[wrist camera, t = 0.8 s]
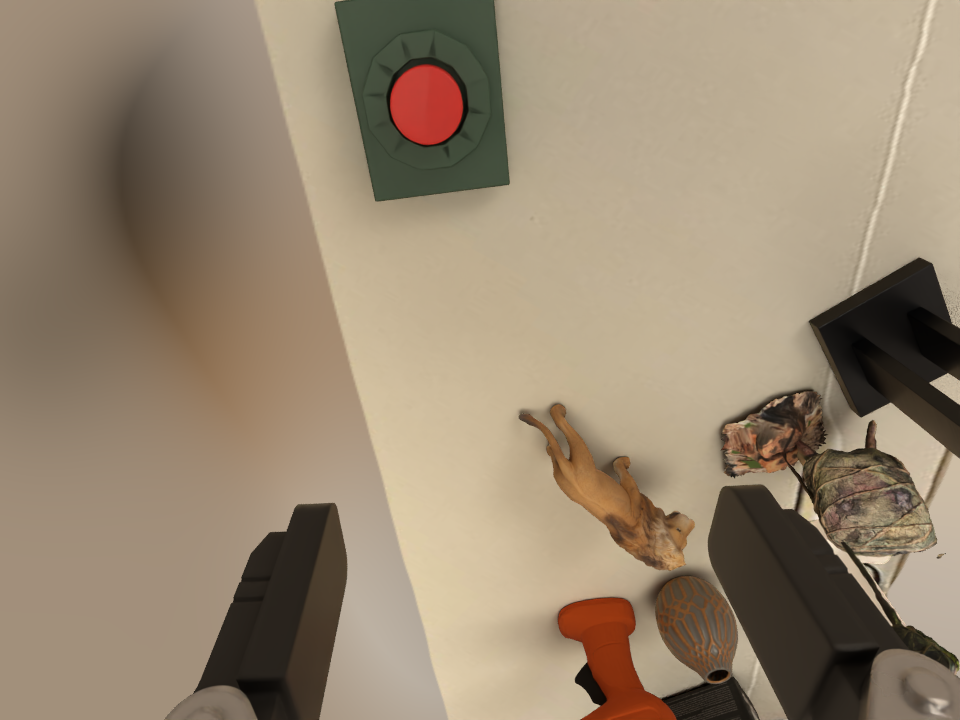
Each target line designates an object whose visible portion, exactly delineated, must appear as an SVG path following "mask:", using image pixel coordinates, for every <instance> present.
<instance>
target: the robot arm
mask: <svg viewBox="0 0 960 720" xmlns="http://www.w3.org/2000/svg"><path fill="white" fill-rule="evenodd" d="M708 552H709V557H710V561H711V564H712V567H713V569H714V571H715V573H716V575H717V577H718V579H719V581H720V583H721V585H722V587H723V589H724V591H725V593H726V595H727V597H728V599H729V601H730V603H731V605H732V607H733V609H734V611H735V613H736V615H737V617H738V619H739V622H740V624H741V626H742V628H743V630H744V632H745V634H746V636H747V638H748V640H749V642H750V644H751V646H752V648H753V650H754V652H755V654H756V656H757V658H758V660H759V662H760V664H761V666H762V668H763V670H764V672H765V674H766V676H767V678H768V680H769V682H770V684H771V686H772V688H773V690H774V692H775V694H776V696H777V698H778V700H779V702H780V704H781V706H782V708H783V710H784V712H785V714H786V716H787V718H788V720H960V678H958V676H956V675H955V674H954V673H953V672H952V671H950V670H949V669H948V668H946V667H945V666H943V665H942V664H940V663H939V662H937V661H935V660H933V659H931V658H929V657H927V656H925V655H922V654H920V653H917V652H914V651H910V650H909V648H908V647H907V646H906V645H905V644H904V642H903V641H902V640H901V638H900V637H899V636H898V635H897V633H896V632H895V631H894V629H893V628H892V627H891V625H890V624H889V623H888V621H887V620H886V619H885V617H884V616H883V615H882V613H881V612H880V611H879V609H878V608H877V607H876V605H875V604H874V603H873V601H872V600H871V599H870V597H869V596H868V595H867V593H866V592H865V591H864V589H863V588H862V587H861V586H860V584H859V583H858V582H857V580H856V579H855V578H854V576H853V575H852V574H851V573H848V568H847V567H846V566H845V564H844V563H843V562H842V560H841V559H840V558H839V556H838V555H835V554H834V550H833V548H832V547H831V546H830V544H829V543H828V542H827V540H826V539H825V538H824V537H823V535H822V534H821V533H820V531H819V530H818V529H817V527H815V526H814V525H813V524H811V523H810V522H809V521H807V520H806V519H805V518H803V517H802V516H801V515H800V514H798V513H797V512H796V511H794V510H793V509H782V508H781V507H780V505H779V504H778V502H777V501H776V500H775V498H774V497H773V495H772V494H771V493H770V491H769V490H768V489H767V488H766V487H765V486H763V485H740V486H725V487H723V488H722V489H721V491H720V494H719V498H718V502H717V506H716V509H715V513H714V517H713V521H712V525H711V529H710V533H709V537H708ZM241 578H242V580H241V582H240V583H239V585H238V588H237V590H236V593H235V595H234V601H233V603H231V605H230V608H229V610H228V613H227V615H226V617H225V620H224V623H223V625H222V628H221V630H220V633H219V635H218V638H217V640H216V643H215V645H214V648H213V650H212V653H211V655H210V658H209V660H208V663H207V665H206V668H205V670H204V673H203V675H202V678H201V680H200V682H199V684H198V687H197V688H196V690H195V691H194V693H193V694H192V695H190V696H189V697H187V698H186V699H184V700H183V701H182V702H180V703H179V704H178V705H177V706H176V707H175V708H174V709H173V710H172V711H171V712H170V713H169V714H168V715H167V717H166V718H165V720H319V717H320V712H321V707H322V702H323V697H324V692H325V687H326V682H327V677H328V672H329V667H330V662H331V657H332V652H333V647H334V642H335V636H336V632H337V627H338V622H339V617H340V612H341V607H342V602H343V597H344V592H345V587H346V580H347V555H346V549H345V544H344V539H343V534H342V529H341V525H340V520H339V515H338V510H337V506H336V504H335V503H323V504H299V505H297V506H296V507H295V509H294V512H293V514H292V517H291V520H290V523H289V526H288V529H287V532H270V533H269V534H268V535H267V536H266V537H265V538H264V539H263V541H262V542H261V543H260V544H259V545H258V546H257V547H256V548H255V550H254V551H253V552H252V553H251V555H250V557H249V560H248V562H247V565H246V567H245V570H244V573H243V575H242V577H241Z"/></svg>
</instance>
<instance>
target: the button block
mask: <svg viewBox="0 0 960 720" xmlns="http://www.w3.org/2000/svg"><path fill="white" fill-rule="evenodd" d="M335 9H336V14H337V19H338V24H339V28H340V33H341V38H342V43H343V48H344V52H345V57H346V62H347V67H348V72H349V76H350V81H351V86H352V91H353V96H354V100H355V105H356V110H357V115H358V120H359V124H360V129H361V134H362V139H363V144H364V149H365V153H366V158H367V163H368V168H369V173H370V177H371V182H372V187H373V192H374V197H375V201H385V200H393V199H401V198H409V197H416V196H424V195H432V194H440V193H448V192H456V191H463V190H471V189H479V188H487V187H495V186H503V185H509V183H510V181H509V170H508V158H507V146H506V135H505V123H504V111H503V100H502V88H501V76H500V65H499V53H498V41H497V30H496V18H495V6H494V0H345V1H338V2H335ZM422 64H430V65H435V66H438V67H440V68H442V69H444V70H445V71H447V72H448V73H449V74H450V75H451V76H452V77H453V78H454V79H455V81H456V83H457V84H458V86H459V89H460V92H461V96H462V101H463V112H462V118H461V121H460V123H459V125H458V127H457V129H456V131H455V132H454V133H453V134H452V135H451V136H450V137H449V138H447V139H446V140H444V141H443V142H440V143H437V144H433V145H423V144H418V143H416V142H413V141H411V140H410V139H408V138H407V137H405V136H404V135H403V134H402V133H401V132H400V130H399V129H398V128H397V126H396V124H395V123H394V120H393V118H392V114H391V109H390V97H391V92H392V89H393V87H394V85H395V83H396V81H397V80H398V78H399V77H400V76H401V75H402V74H403V73H404V72H406V71H407V70H409V69H411V68H412V67H415V66H417V65H422Z"/></svg>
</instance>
